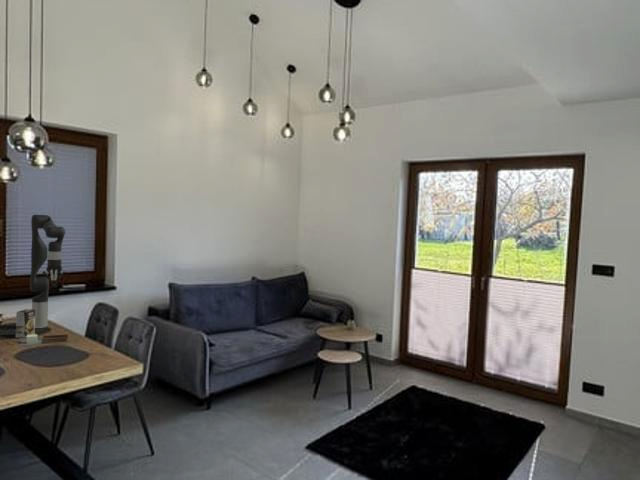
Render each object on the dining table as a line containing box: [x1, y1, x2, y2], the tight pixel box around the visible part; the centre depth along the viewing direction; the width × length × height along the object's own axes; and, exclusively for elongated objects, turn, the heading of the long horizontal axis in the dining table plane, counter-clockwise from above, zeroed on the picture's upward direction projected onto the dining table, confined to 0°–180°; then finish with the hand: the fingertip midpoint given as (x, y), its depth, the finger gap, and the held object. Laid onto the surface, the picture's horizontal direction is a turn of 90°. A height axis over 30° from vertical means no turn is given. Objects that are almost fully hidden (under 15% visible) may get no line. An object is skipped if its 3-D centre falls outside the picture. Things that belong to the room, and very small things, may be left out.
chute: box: [41, 333, 69, 345], centre depth 274 cm, size 12×13×3 cm
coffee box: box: [15, 308, 36, 339], centre depth 282 cm, size 9×6×16 cm
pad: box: [19, 338, 43, 346], centre depth 269 cm, size 12×11×1 cm
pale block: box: [26, 333, 38, 344], centre depth 269 cm, size 5×5×4 cm
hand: (53, 286), depth 283 cm, fingers closed
